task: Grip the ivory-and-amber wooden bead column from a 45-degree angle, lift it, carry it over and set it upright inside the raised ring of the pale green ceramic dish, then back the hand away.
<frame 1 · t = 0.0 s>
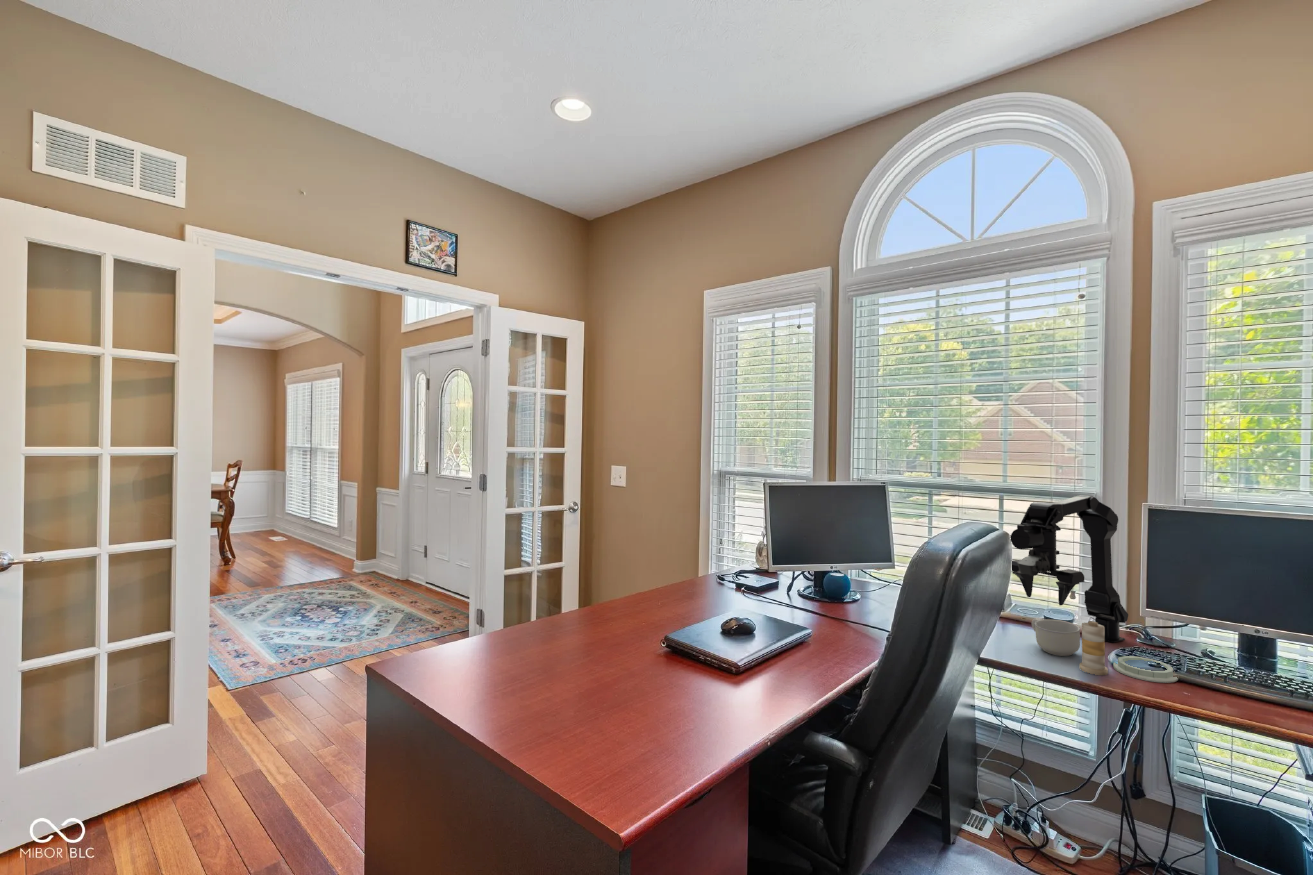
hand: (1044, 601, 168), 15 cm above the table, tool pointing down, fingers open, 9 cm apart
bead column: (1093, 670, 155), on the table
ring dish: (1144, 672, 153), on the table
teacup: (1053, 651, 170), on the table
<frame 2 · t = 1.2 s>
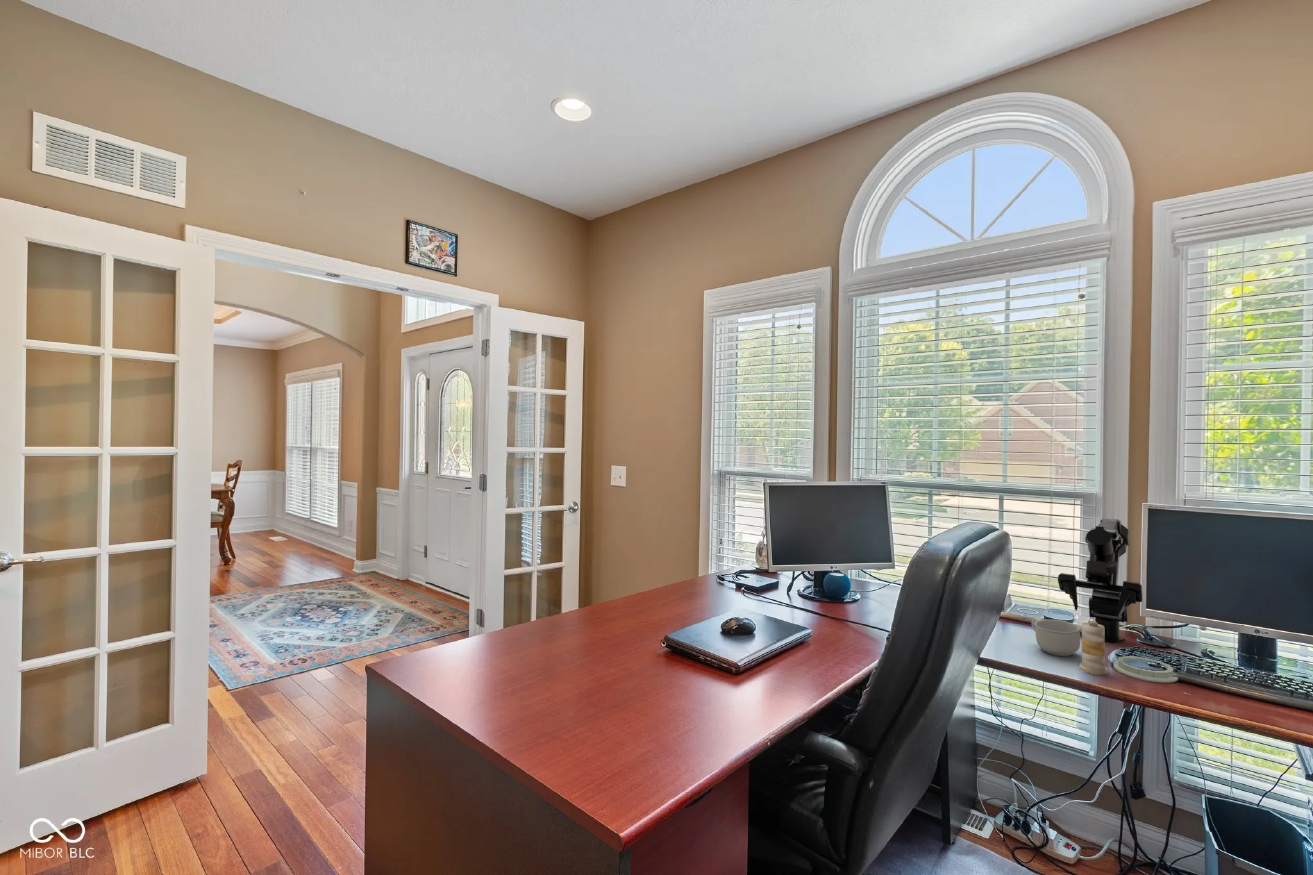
hand: (1096, 613, 161), 13 cm above the table, tool tilted 45°, fingers open, 9 cm apart
nothing on the table moved.
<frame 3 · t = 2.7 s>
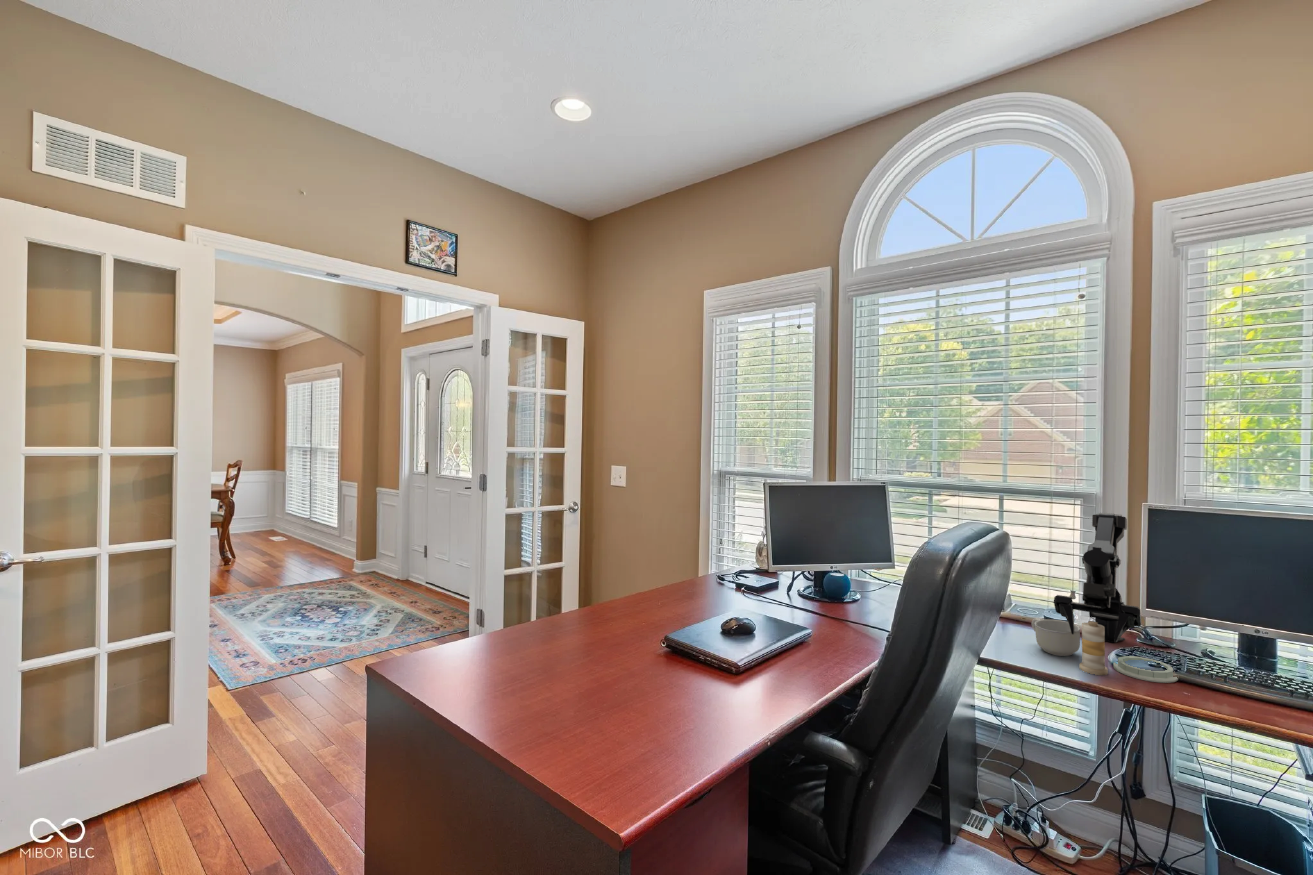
hand: (1093, 637, 155), 9 cm above the table, tool tilted 45°, fingers open, 9 cm apart
nothing on the table moved.
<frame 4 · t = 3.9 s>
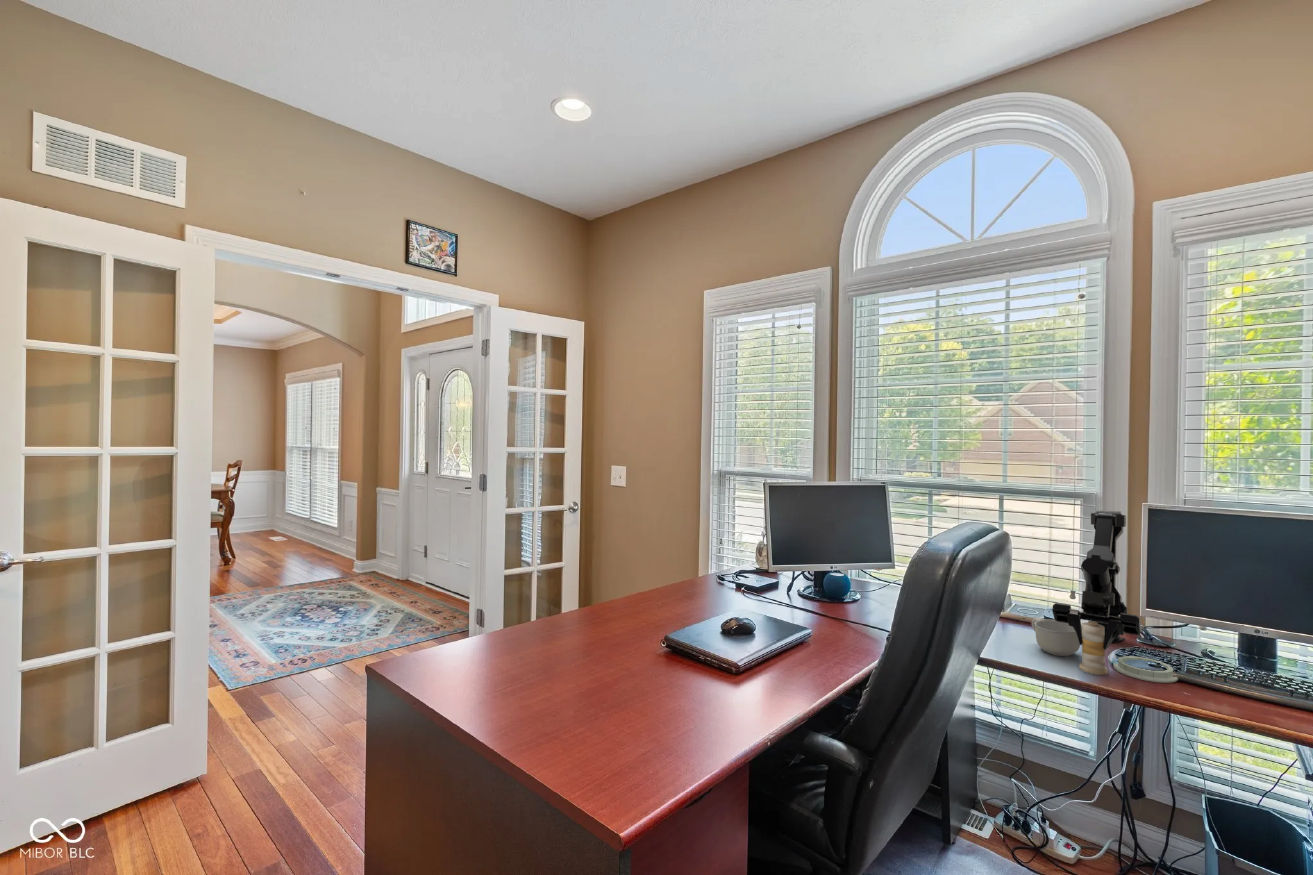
hand: (1092, 646, 154), 7 cm above the table, tool tilted 45°, fingers closed on bead column, 5 cm apart
bead column: (1093, 670, 155), on the table, touching gripper
everything else where it was.
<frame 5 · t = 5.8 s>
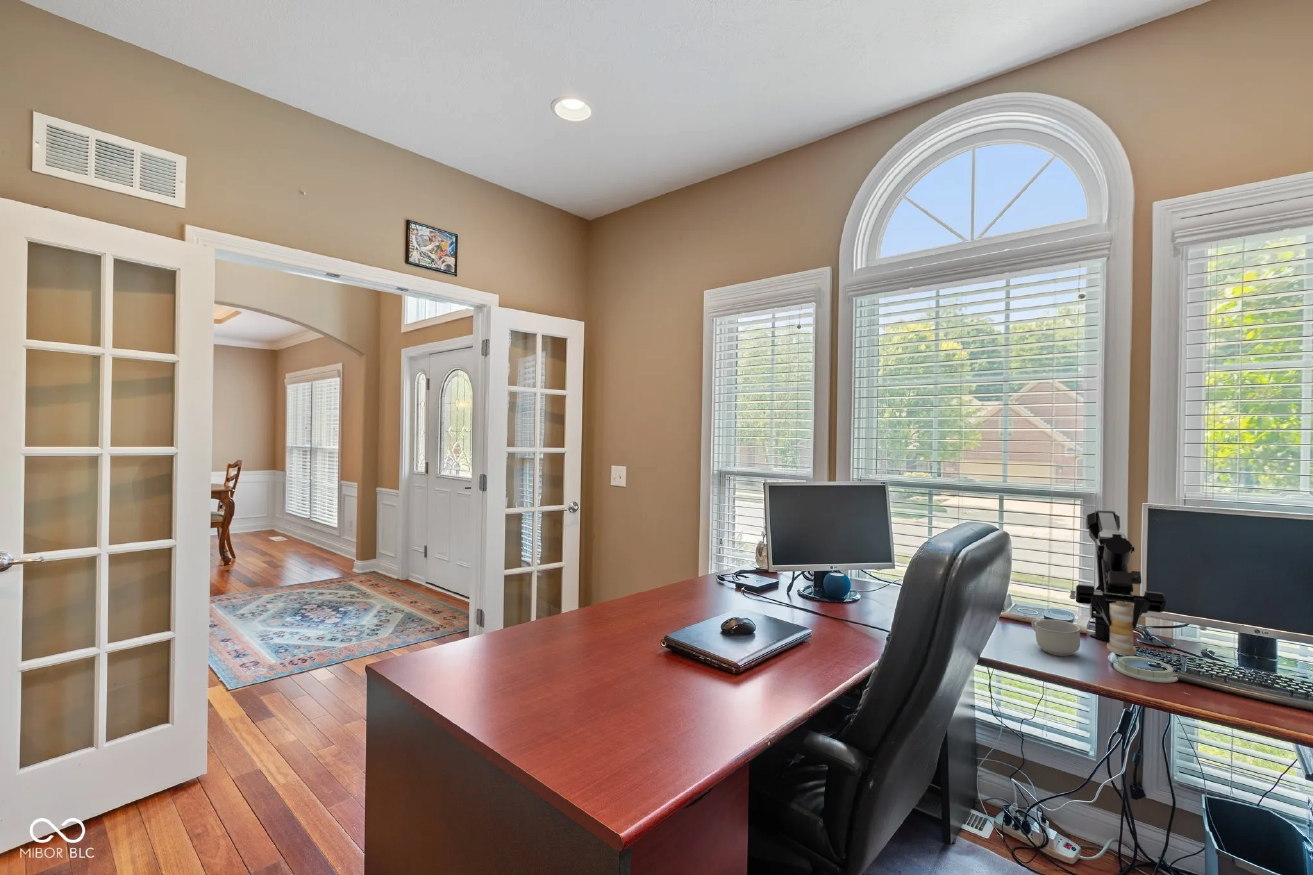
hand: (1122, 626, 152), 12 cm above the table, tool tilted 45°, fingers closed on bead column, 5 cm apart
bead column: (1121, 650, 154), point 6 cm above the table, touching gripper
everything else where it was.
when the fingers open (9 cm above the table, at t = 7.5 s): bead column drops 1 cm, resting on ring dish.
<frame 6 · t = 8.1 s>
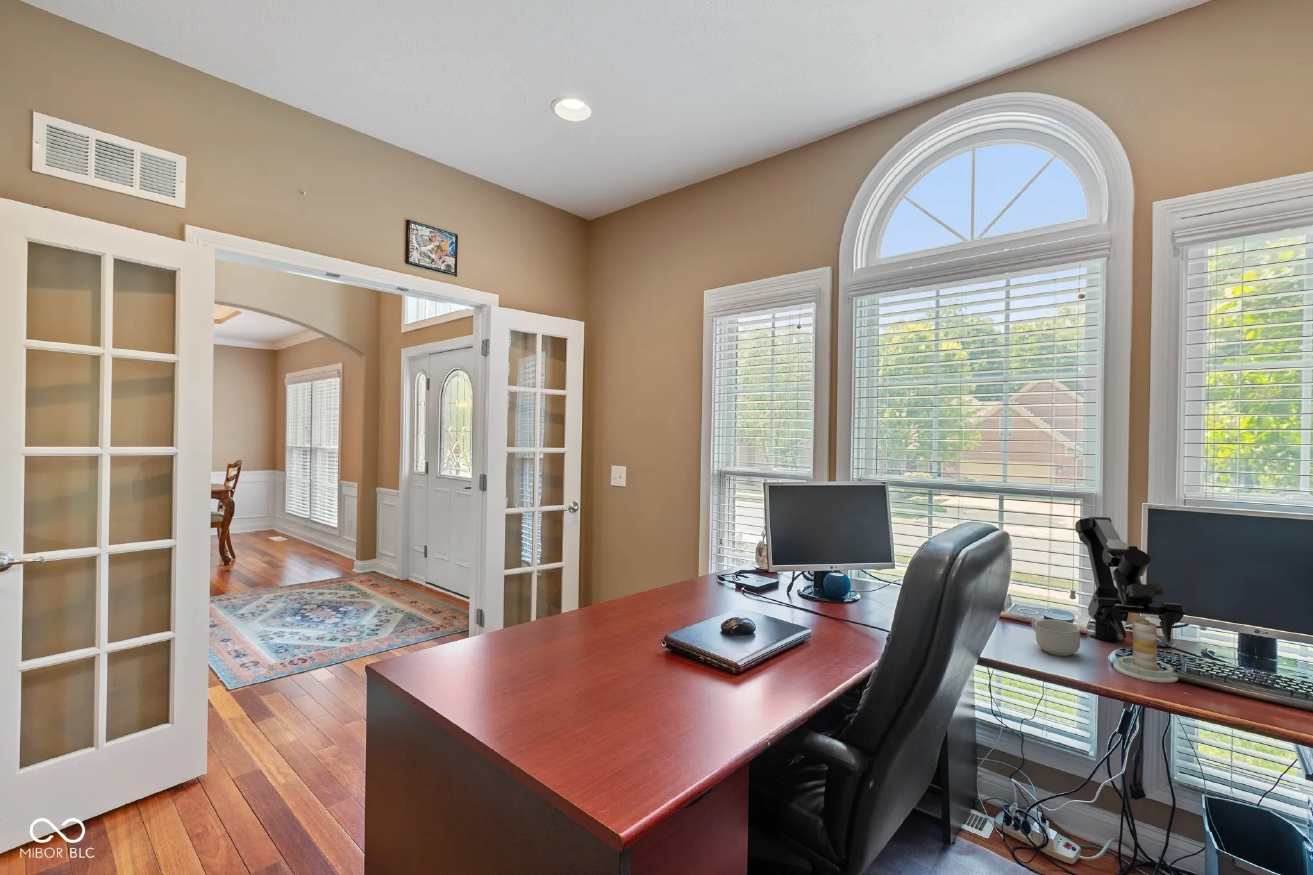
hand: (1146, 639, 152), 9 cm above the table, tool tilted 45°, fingers open, 9 cm apart
bead column: (1144, 669, 153), point 1 cm above the table, touching ring dish
everything else where it was.
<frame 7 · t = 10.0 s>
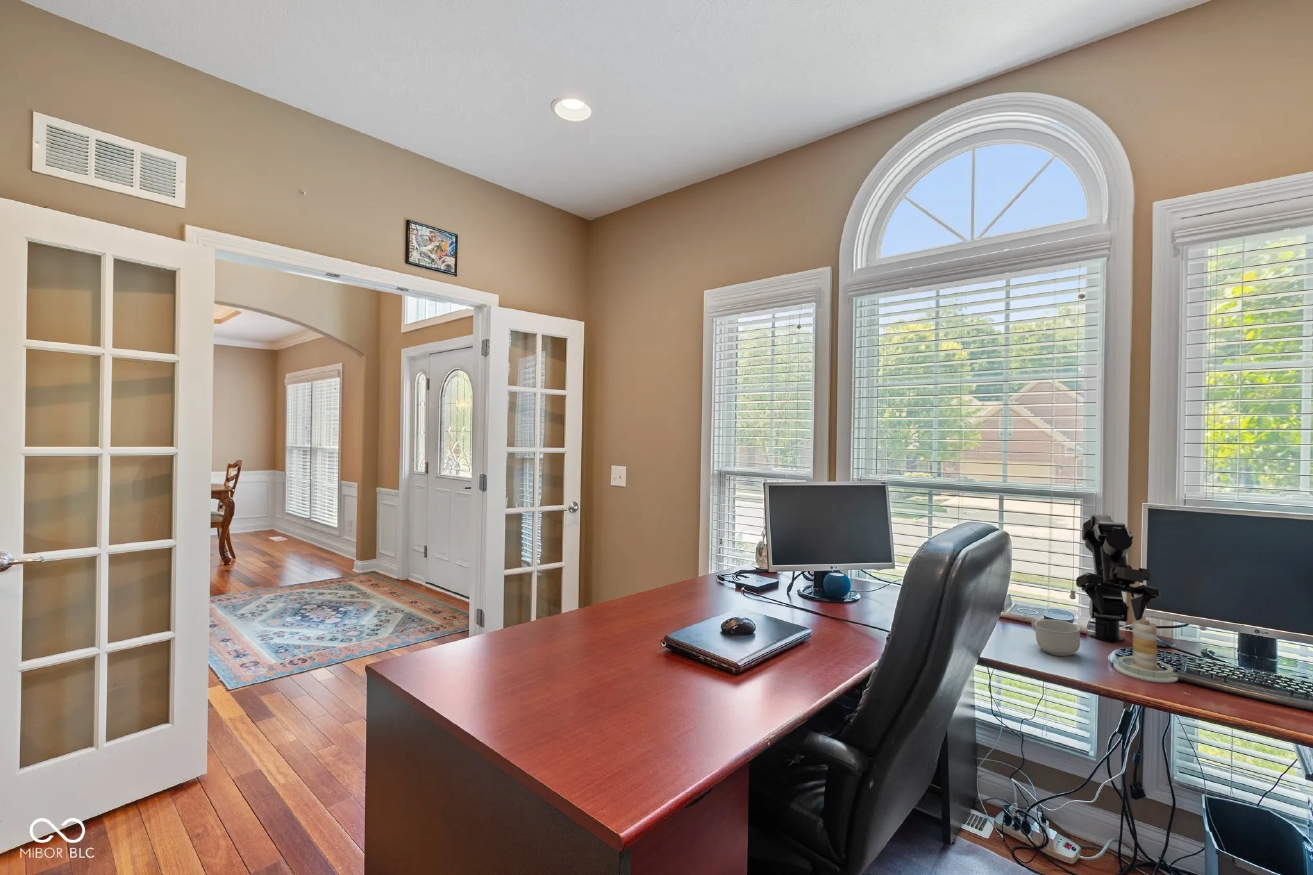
hand: (1120, 617, 161), 12 cm above the table, tool tilted 30°, fingers open, 9 cm apart
nothing on the table moved.
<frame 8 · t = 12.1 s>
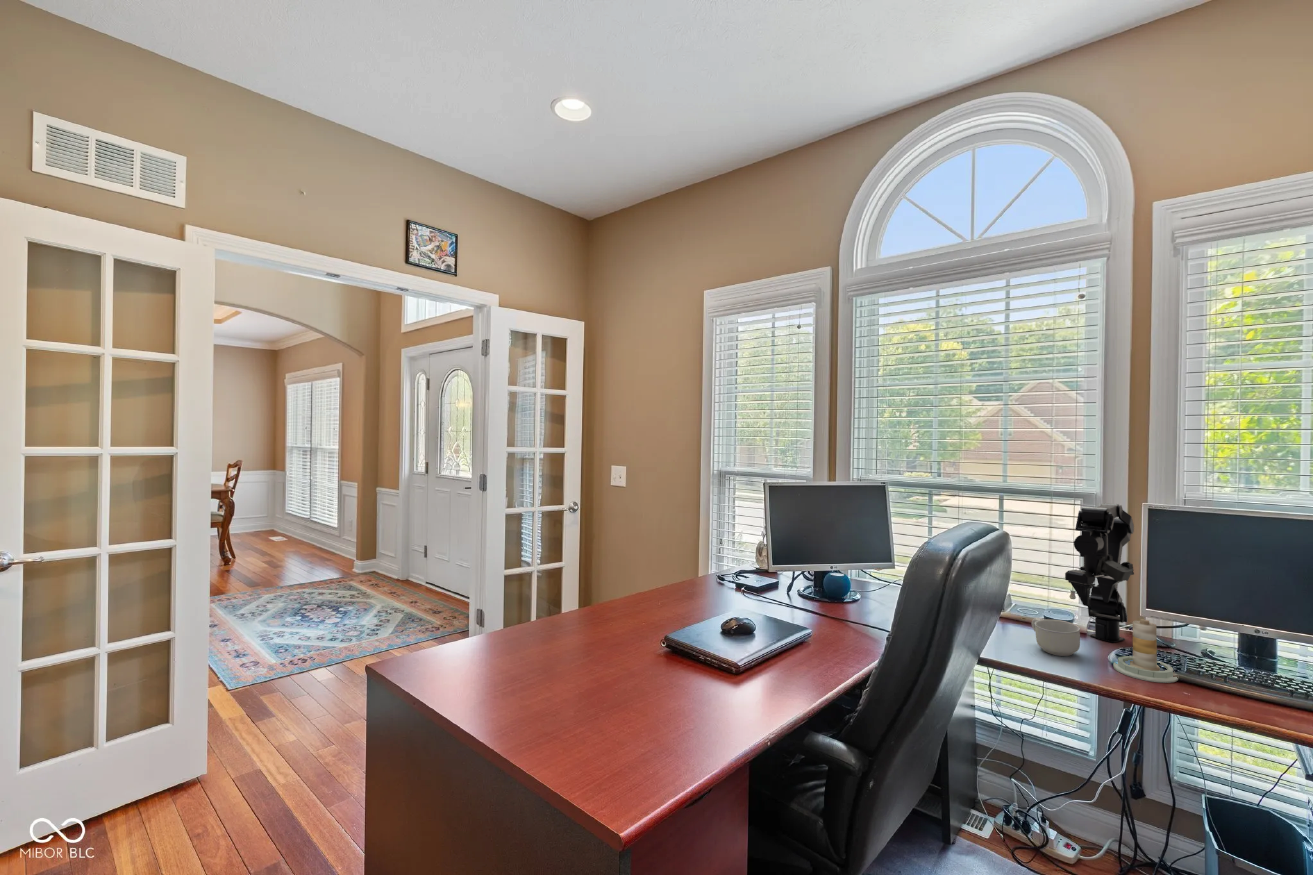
hand: (1096, 603, 171), 13 cm above the table, tool pointing down, fingers open, 9 cm apart
nothing on the table moved.
at the end: bead column 0.1 cm off-centre on the ring dish, point 0.8 cm above the ring dish's base; bead column tilted 0°; the gripper is holding nothing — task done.
